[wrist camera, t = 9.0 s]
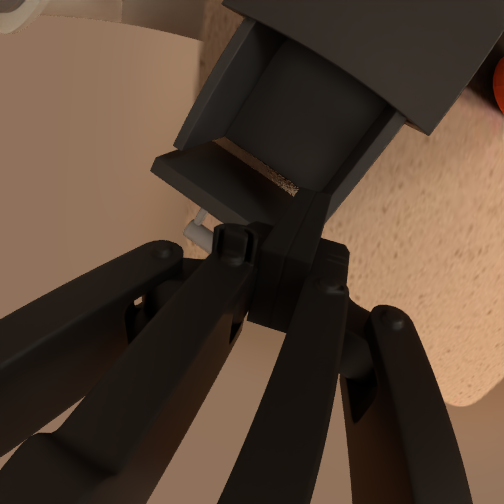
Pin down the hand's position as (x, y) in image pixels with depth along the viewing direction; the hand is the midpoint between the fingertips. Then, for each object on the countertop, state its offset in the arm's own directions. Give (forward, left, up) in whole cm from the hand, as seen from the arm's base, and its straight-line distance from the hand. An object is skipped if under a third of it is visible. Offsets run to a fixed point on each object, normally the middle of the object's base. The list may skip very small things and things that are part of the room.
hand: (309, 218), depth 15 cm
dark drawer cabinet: (-15, +4, -14) cm, 21 cm away
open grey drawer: (-2, -3, -13) cm, 14 cm away
